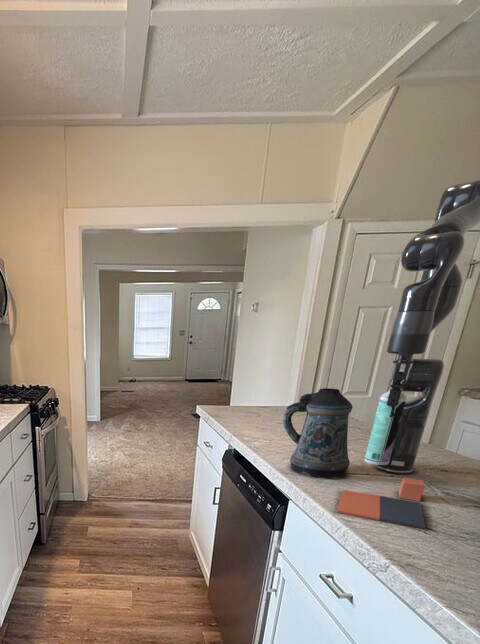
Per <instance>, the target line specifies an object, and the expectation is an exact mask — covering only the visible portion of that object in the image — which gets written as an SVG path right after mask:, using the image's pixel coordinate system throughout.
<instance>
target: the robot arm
mask: <svg viewBox="0 0 480 644" xmlns="http://www.w3.org/2000/svg"><path fill="white" fill-rule="evenodd" d="M478 224H480V179H475V180H471V181H466V182H462V183H457V184H453V185H450V186H447V187H446V188H445V189H444V190H443V191H442V193H441V195H440V197H439V200H438V203H437V207H436V212H435V217H434V221H433V224H432V225H431V227H429V228H426V229H424V230H423V231H421V232H419V233H417V234H416V235H414V237H412V238H411V239H410V240H409V241H408V242H407V243H406V245H405V246H404V248H403V251H402V253H401V255H400V264H401V267H402V268H403V270H405V271H407V272H412V273H413V272H422V274H421V277H420V281H418V282H417V281H416V282H413V283H410V284H407V285H406V286H404V288H403V291H402V294H401V297H400V301H399V305H398V309H397V313H396V316H395V318H394V321H393V324H392V328H391V333H390V336H389V340H388V345H387V348H386V352H387V353H388V354H391V355H392V354H393V355H396V354H397V355H398V356H397V358H396V359H395V360H392V363H391V371H390V375H389V382H390V383H389V390H390V393H389V397H388V401H387V405H388V406H397V405H398V402H399V398H400V394H401V393H402V392H410V393H420V395H419V396H417V397H415V398H413V399H410V400H406V403H405V406H404V410H403V414H402V417H401V421H400V424H399V428H398V432H397V435H396V439H395V442H394V446H393V450H392V453H391V457H390V460H389V463H388V464H387V465H376V464H375V468H377V469H378V470H380V471H384V472H387V473H392V474H402V475H403V474H411V473H413V470H414V466H415V462H416V459H417V455H418V452H419V448H420V446H421V442H422V438H423V436H424V432H425V429H426V425H427V423H428V422H427V421H428V419H429V416H430V412H431V408H432V406H433V405H432V404H433V402H434V398H435V395H436V394H437V393H436V392H437V390H438V387H439V385H440V382H441V381H442V380H441V379H442V376H443V374H444V369H445V363H444V360H443V359H440V358H439V359H438V358H414V355H422V354H424V353H425V352H426V349H427V346H428V342H429V339H430V335H431V333H432V332H433V331H434V330H435V329H436V328H437V327H438V326H439V325H441V323H443V322H444V321H445V320H446V318H448V317H449V315H450V314H451V313H452V312H453V311H454V310H455V308H456V306H457V302H458V298H459V297H460V296H459V295H460V292H461V288H462V284H463V276H462V273H461V270H460V267H459V266H458V264H457V261H458V260H459V258H460V257H461V254H462V252H463V250H464V247H465V234H467V233H468V232H469V231H470V230H472V229H473V228H475V227H476V226H477V225H478ZM401 391H402V392H401Z"/></svg>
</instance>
